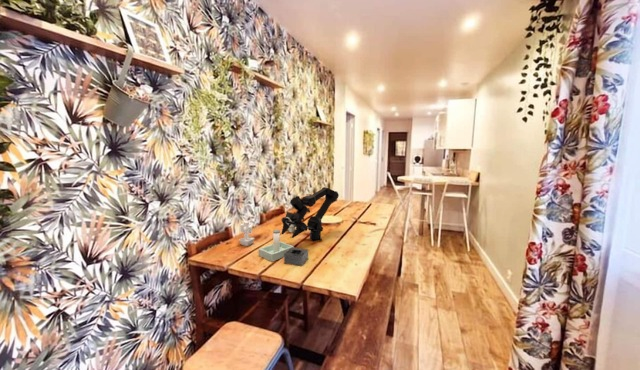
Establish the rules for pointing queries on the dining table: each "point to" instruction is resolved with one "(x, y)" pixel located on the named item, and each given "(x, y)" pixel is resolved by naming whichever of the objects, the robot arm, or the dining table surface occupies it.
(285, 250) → the tray
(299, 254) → the block
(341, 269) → the dining table surface
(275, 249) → the beige capped cylinder
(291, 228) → the pneumatic valve
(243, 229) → the figurine
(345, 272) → the dining table surface
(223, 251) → the dining table surface
